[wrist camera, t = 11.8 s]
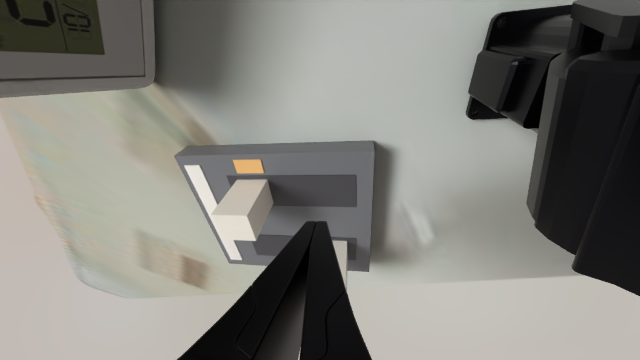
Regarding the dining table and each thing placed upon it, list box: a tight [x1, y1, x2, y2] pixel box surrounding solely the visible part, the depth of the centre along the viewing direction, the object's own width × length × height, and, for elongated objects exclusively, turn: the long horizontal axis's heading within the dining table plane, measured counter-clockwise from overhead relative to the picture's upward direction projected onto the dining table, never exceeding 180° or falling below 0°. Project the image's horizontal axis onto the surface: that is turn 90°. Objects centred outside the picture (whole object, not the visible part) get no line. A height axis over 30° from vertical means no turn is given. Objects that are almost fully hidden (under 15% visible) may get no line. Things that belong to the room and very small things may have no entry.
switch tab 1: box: [211, 180, 273, 241], centre depth 20 cm, size 3×3×5 cm
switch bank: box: [174, 141, 375, 272], centre depth 25 cm, size 18×16×2 cm
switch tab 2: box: [332, 240, 348, 292], centre depth 23 cm, size 3×3×5 cm
